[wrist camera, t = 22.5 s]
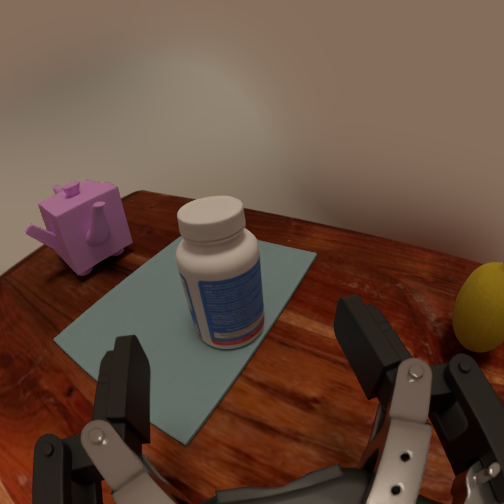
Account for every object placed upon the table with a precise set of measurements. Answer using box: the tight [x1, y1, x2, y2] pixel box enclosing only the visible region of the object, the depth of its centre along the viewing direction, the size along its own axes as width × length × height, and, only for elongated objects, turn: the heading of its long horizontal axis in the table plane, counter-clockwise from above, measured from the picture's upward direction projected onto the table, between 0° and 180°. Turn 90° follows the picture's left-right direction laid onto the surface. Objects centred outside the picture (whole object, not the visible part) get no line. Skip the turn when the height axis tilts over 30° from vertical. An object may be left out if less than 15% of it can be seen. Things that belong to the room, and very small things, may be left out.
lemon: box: [452, 262, 504, 352], centre depth 16 cm, size 6×6×8 cm
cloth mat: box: [54, 236, 317, 446], centre depth 26 cm, size 16×22×1 cm
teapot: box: [25, 180, 133, 276], centre depth 30 cm, size 18×13×10 cm
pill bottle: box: [176, 196, 265, 349], centre depth 20 cm, size 6×5×10 cm
